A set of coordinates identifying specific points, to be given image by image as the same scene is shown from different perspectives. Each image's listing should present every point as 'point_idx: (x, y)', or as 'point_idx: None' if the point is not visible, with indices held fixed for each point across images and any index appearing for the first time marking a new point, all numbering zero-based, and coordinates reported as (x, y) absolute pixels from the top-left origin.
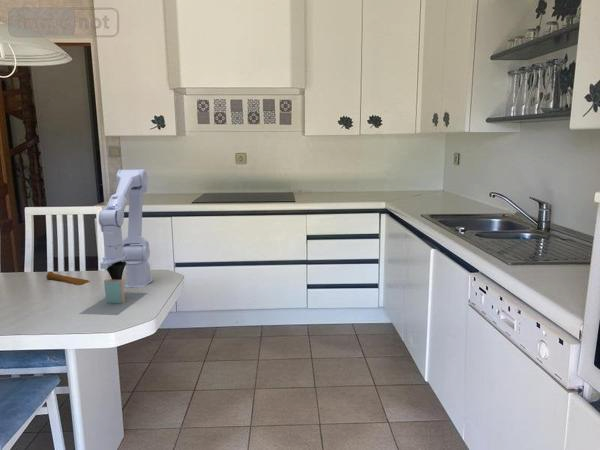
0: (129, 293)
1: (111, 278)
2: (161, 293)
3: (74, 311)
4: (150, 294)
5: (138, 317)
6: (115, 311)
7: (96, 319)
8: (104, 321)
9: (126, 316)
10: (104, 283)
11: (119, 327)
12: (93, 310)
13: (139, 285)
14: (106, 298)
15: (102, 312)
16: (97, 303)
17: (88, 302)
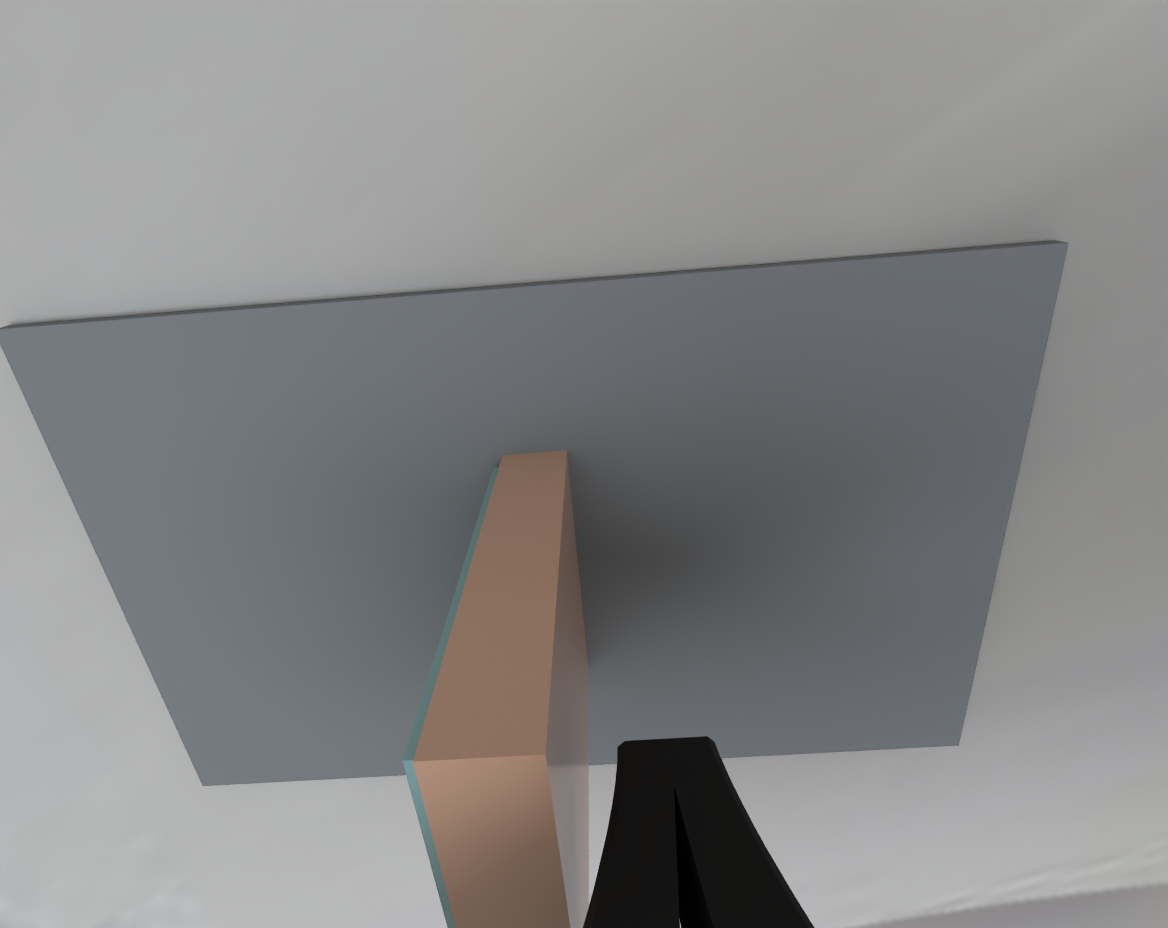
0: (955, 544)
1: (599, 870)
2: (962, 842)
3: (71, 125)
4: (933, 761)
5: (267, 923)
6: (275, 722)
7: (30, 632)
8: (38, 732)
9: (244, 838)
10: (419, 706)
11: (14, 897)
12: (189, 459)
13: None
14: (482, 511)
15: (188, 608)
16: (455, 327)
17: (521, 63)
